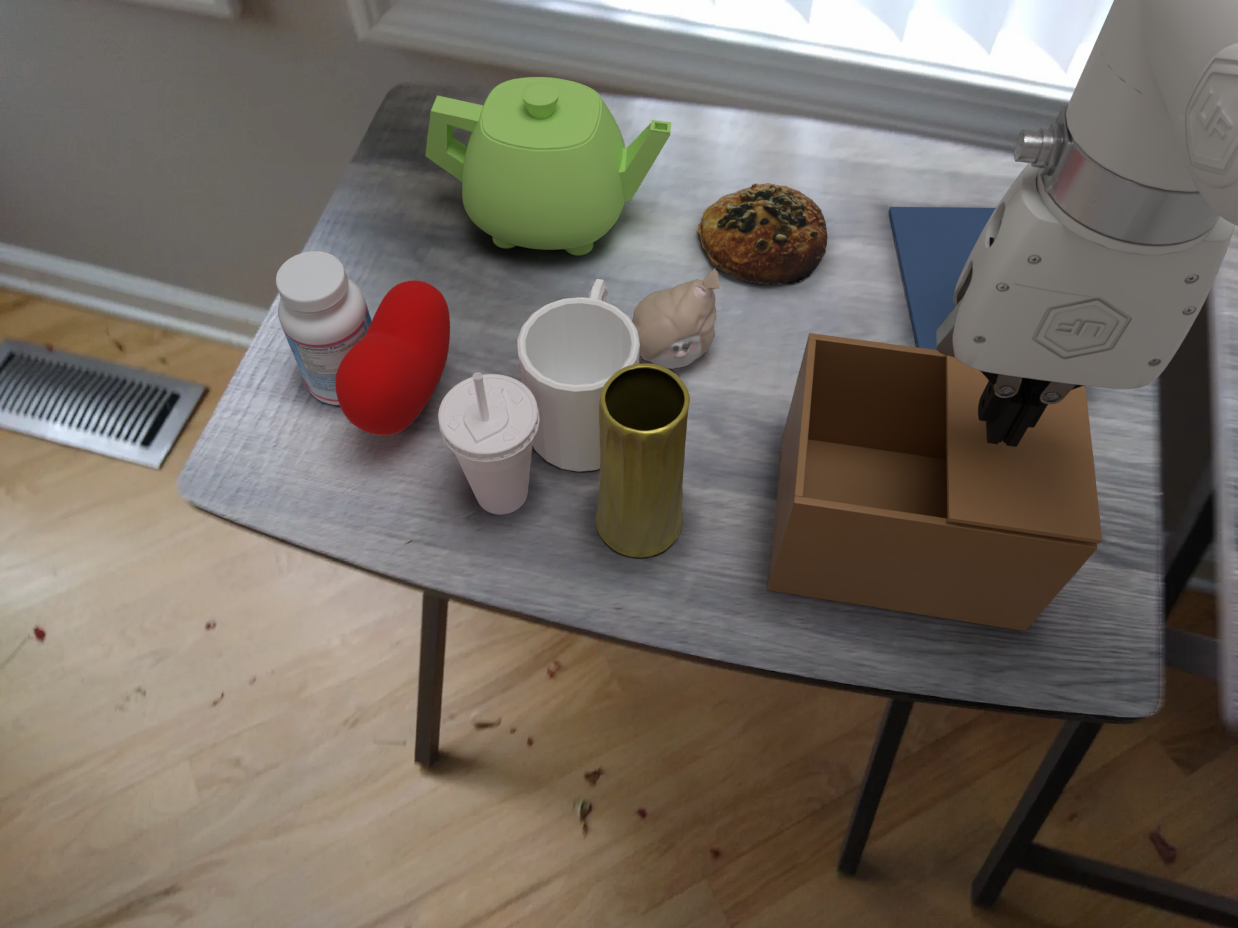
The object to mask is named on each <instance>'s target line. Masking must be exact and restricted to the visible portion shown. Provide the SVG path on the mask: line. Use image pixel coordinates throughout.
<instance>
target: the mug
mask: <svg viewBox="0 0 1238 928" xmlns="http://www.w3.org/2000/svg"><path fill="white" fill-rule="evenodd" d="M608 294H609V290H608V287H607V284H606V282H605V280H604V279H600V278H596V279H595V281H594V283H593V284H592V287H591V289H590V291H589V293H588V297H584V296H581V297H569V298H562V299H558V300H556V301H552V302H550V303H547V304H544V306H542V307H540V308H538V309H537V310H535V311H534V312H533V313H531V314H530V316H529V317H528V318H527V319H526V320H525V322H524V323H523V325H522V326H521V328H520V330H519V334H518V337H517V341H516V343H517V344H516V345H517V354H518V362H519V363H518V364H519V371H520V381H521V383H523V384H524V385H525V386H526V387H527V388H528V389H529V390H530V391H531V392H532V394H533V395H534V397H535V400H536V403H537V408H538V411H539V418H540V421H539V426H538V431H537V433H536V435H535V436H534V438H533V444H532V448H533V449H534V451H535V452H536V453H537V454H538V455H539V456H540V457H541V458H542V459H543V460H544V461H546V462H547V463H549V464H551V465H553V466H555V467H557V468H558V469H559V468H560V469H562V470H566V471H573V472H579V473H580V472H589V471H590V472H591V471H597V470H600V427H599V401H600V396H601V392H602V390H603V387H604V385H605V383H606V382H607V381H608V379H609V378H610V377H611V376H612V375H613V374H614V373H615V372H617V371H618V370H620V369H622V368H624V367H626V366H629V365H634V364H640V356H641V355H640V343H639V337H638V331H637V329H636V327H635V326H634V324H633V322H632V319H631V318H630V316H629V315H627V314H626V313H624V312H623V310H621V309H620V308H618V307H617V306H616V305H613V304H611V303H609V302H608V297H609V295H608Z"/></svg>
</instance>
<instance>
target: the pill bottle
mask: <svg viewBox="0 0 1238 928" xmlns="http://www.w3.org/2000/svg"><path fill="white" fill-rule="evenodd" d="M275 285H276V289H277V290H278V293H279V294H278V295H279V297H280V299H279V302H278V306H277V318H278V321H279V324H280V327H281V328H282V331H283V333H284V335H285V336H284V337H285V339H286V341H287V343H288V345H289V348H290V349H291V350H290V351H291V352H292V355H293V358H294V359H295V362H296V365H297V368H298V369H299V371H300V375H301V377H302V379H303V380H304V381H303V382H304V384H305V385H306V387H307V389H308V391H309V393H310V394H311V395H312V396H313V397H314V398H315V399H317V400H319V401H320V402H322V403H325V404H328V405H332V406H333V405H334V406H340V405H339V402H338V399H337V394H336V386H335V381H336V373H337V370H338V367H339V365H340V363H341V361H342V360H343V358H344V356H345V355H346V354H347V352H348V351H349V350H350V349H351V348H352V347H353V346H354V345H355V344H356V343H357V342H358V341H360V340H361V339H362V338H364V336H365V335H366V333H367V331H368V329H369V326H370V324H371V322H372V316H371V314H370V311H369V307H368V305H367V301H366V298H365V296H364V294H363V292H362V290H361V288H360V287H359V285H357V284H356V283H355V282H354V281H353V280H351V278H349V277H348V275H347V273H346V269H345V267H344V265H343V263H342V262H341V260H339V258H338V257H337V256H335V255H333V254H331V253H328V252H325V251H321V250H311V251H304V252H300V253H298V254H295V255H293V256H292V257H289V258H288V259H287V260H286V261H284V262H283V264H282V265H280V267H279V268H278V271H277V273H276V277H275Z"/></svg>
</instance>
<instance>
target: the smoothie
mask: <svg viewBox="0 0 1238 928" xmlns="http://www.w3.org/2000/svg"><path fill="white" fill-rule="evenodd" d="M437 417H438V418H437V419H438V425H439V433H440V435H441V438H442V440H443V443H445V444H446V446H447V447H448V449H450V451H451V452H453V453H454V455H455V457H456V459H457V461H458V463H459V465H460V467H461V470H462V472H463V474H464V476H465V477H466V480H467V482H468V484H469V486H470V489H471V490H472V493H473V494H474V497H475V499H476V501H477V503H478V504H479V506H480V507H481V508H482V509H483V510H484V511H486V512H488V513H490V514H493V515H498V516H499V515H502V516H503V515H509V514H512V513H514V512H516V511H517V510H519V509H520V508H521V507H522V506H523V505H524V504H525V503H526V501H527V499H528V494H529V486H530V485H529V483H530V476H531V475H530V474H531V463H532V454H533V445H532V444H533V438H534V436H535V435H536V433H537V431H538V426H539V421H540V418H539V411H538V408H537V403H536V400H535V397H534V395H533V394H532V392H531V391H530V390H529V389H528V388H527V387H526V386H525V385H524V384H523V383H522V381H521V380H518V379H516V378H514V377H511V376H509V375H504V374H499V373H484V374H482V372H474V373H473V375H472V376H471V377H468V378H466V379H464V380H462V381H460V382H459V383H457V384H455V385H454V386H453V387H452V388H451V389H450V390H449V391H447V393H446V395H444V397H443V399H442V401H441V403H440V405H439V409H438V413H437Z"/></svg>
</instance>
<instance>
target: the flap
mask: <svg viewBox="0 0 1238 928" xmlns="http://www.w3.org/2000/svg"><path fill="white" fill-rule="evenodd" d="M988 381H989V380H988V379H987V378H986V377H985V376H984V375H983V373H982V372H981V371H980V370H976V369H973V368H970V367H968V366H966V365H964V364H962V363H961V362H959V361H958V360H957V359H956V358H955V357H951V356H948V355H946V431H947V520H948V521H950V522H957V523H964V524H970V525H977V526H984V527H991V528H997V529H1004V530H1011V531H1018V532H1025V533H1031V534H1038V535H1045V536H1052V537H1059V538H1065V539H1072V540H1079V541H1086V542H1092V543H1097V544H1101V543H1102V542H1103V534H1102V525H1101V516H1100V506H1099V505H1100V504H1099V497H1098V496H1099V495H1098V489H1097V487H1098V486H1097V478H1096V470H1095V460H1094V450H1093V443H1092V442H1093V441H1092V431H1091V424H1090V415H1089V406H1088V405H1089V404H1088V395H1087V386H1082V387H1079V388H1076V389H1073V390H1071V391H1070V392H1069V393H1068V394H1067V395H1066V396H1065V398H1064V399H1063V400H1062V401H1060V402H1059V403H1056V404H1048V405H1047V407H1046V409H1045V411H1044V412H1043V414H1042V416H1041V417H1040V419H1039V421H1038V422H1037V424H1036V426H1035V427H1034V428H1031V427H1028V429H1027V430H1026V432H1025V434H1024V435H1023V437H1022V439H1021V441H1020V442H1019V444H1018V446H1017V447H1013V446H1007V445H1006V443H1003V441H1002V442H999V443H998V444H991V443H987V431H986V421H980V420H979V419H978V404H979V400H980V397H981V395H982V393H983V391H984V389H985V387H986V385H987V383H988Z"/></svg>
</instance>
